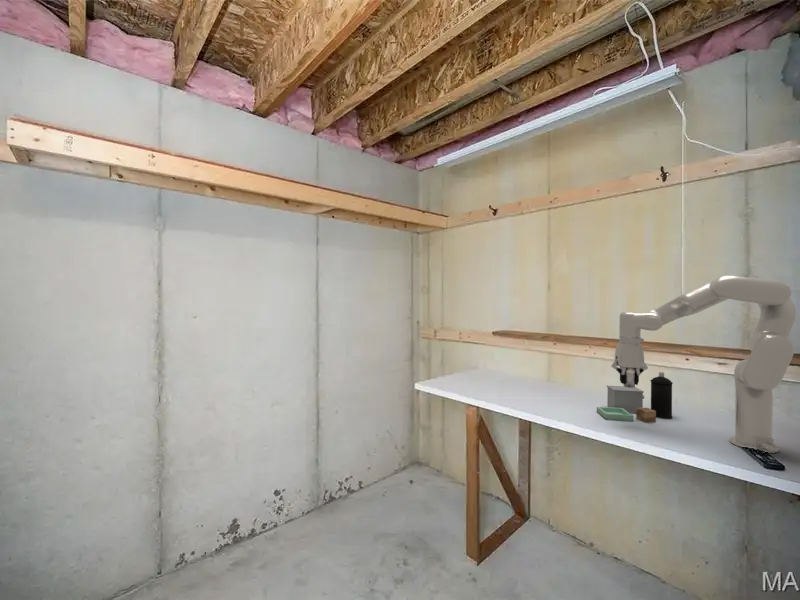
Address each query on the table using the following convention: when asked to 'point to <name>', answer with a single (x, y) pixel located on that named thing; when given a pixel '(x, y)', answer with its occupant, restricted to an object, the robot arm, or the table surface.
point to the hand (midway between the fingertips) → (629, 383)
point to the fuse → (630, 377)
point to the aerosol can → (661, 396)
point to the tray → (615, 414)
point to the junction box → (625, 398)
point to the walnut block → (646, 415)
